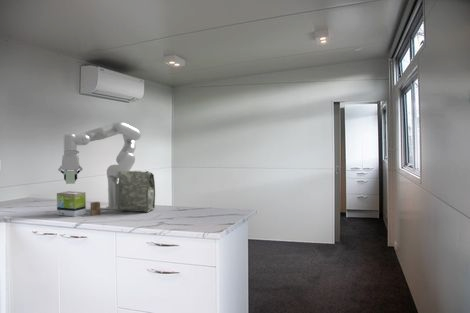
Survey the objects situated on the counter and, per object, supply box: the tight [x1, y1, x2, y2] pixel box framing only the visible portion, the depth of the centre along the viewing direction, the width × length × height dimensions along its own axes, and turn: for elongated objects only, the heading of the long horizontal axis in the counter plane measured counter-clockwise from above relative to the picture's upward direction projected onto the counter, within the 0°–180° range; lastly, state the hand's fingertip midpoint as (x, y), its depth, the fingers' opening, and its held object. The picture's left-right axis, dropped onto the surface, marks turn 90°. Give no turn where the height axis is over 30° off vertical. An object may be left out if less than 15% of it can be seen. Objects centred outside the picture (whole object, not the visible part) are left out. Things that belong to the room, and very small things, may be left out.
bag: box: [117, 170, 156, 213], centre depth 234 cm, size 22×16×27 cm
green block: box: [65, 170, 76, 185], centre depth 222 cm, size 5×5×8 cm
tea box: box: [56, 190, 87, 217], centre depth 223 cm, size 15×10×15 cm, turn 71°
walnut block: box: [90, 201, 101, 216], centre depth 222 cm, size 5×5×8 cm
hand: (70, 180), depth 223 cm, fingers closed on green block, 5 cm apart
